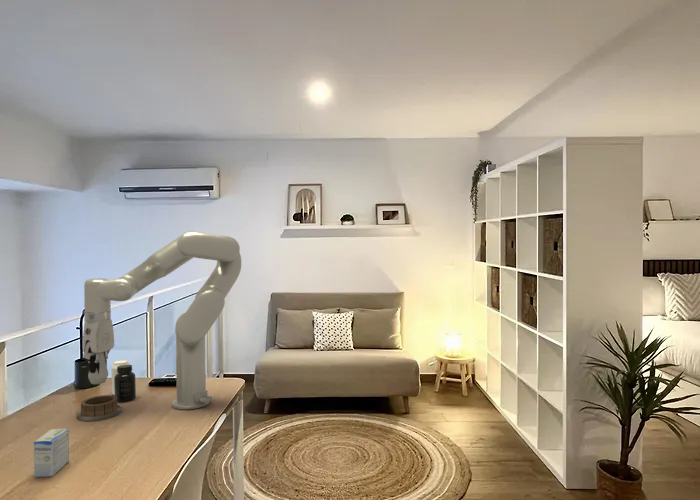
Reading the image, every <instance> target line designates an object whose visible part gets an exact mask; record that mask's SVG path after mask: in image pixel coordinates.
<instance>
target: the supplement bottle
mask: <svg viewBox="0 0 700 500" xmlns="http://www.w3.org/2000/svg"><path fill="white" fill-rule="evenodd" d="M117 372H118V374H116V375H115V377H114V389H115V395H114V396H117V403H128V402H132V401H134V400H135V399H136V397H137V393H136V392H137V389H136V388H137V387H136V385H137V384H136V374H135V373H134V372H133V365H132V364H130V365H121V366H118V367H117Z"/></svg>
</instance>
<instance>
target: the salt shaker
mask: <svg viewBox="0 0 700 500" xmlns="http://www.w3.org/2000/svg"><path fill="white" fill-rule="evenodd" d="M92 353H93V352H92ZM92 356H94V357H95V355H92ZM98 362H100V369H99V374H98V371H97V368H96V372H95V373H91V372H90V373H89V372H88V375H87V377H88V381H89V382H90V384H92V385H102V384H104V383H106V382H107V379H108V376H109V371H108V365H107V366H106V361H105V357H104V353H103V352H102V353H99V356H98Z"/></svg>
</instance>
